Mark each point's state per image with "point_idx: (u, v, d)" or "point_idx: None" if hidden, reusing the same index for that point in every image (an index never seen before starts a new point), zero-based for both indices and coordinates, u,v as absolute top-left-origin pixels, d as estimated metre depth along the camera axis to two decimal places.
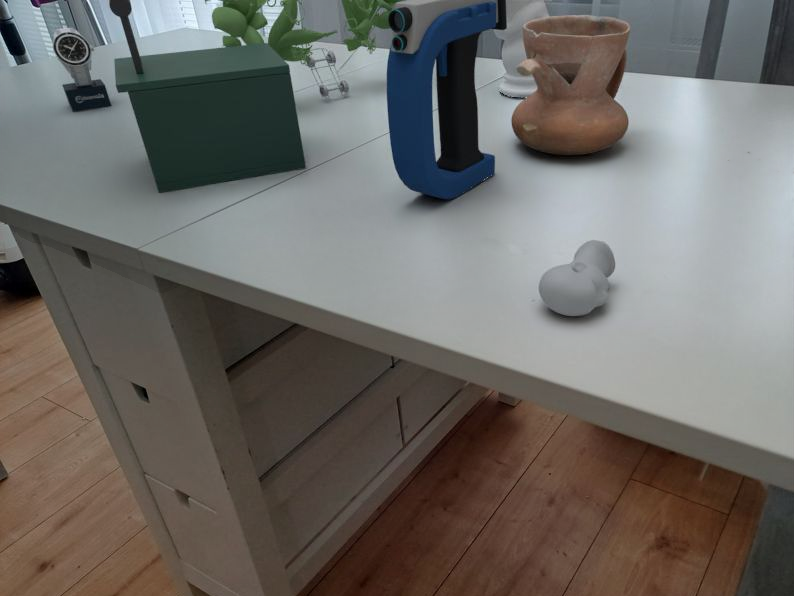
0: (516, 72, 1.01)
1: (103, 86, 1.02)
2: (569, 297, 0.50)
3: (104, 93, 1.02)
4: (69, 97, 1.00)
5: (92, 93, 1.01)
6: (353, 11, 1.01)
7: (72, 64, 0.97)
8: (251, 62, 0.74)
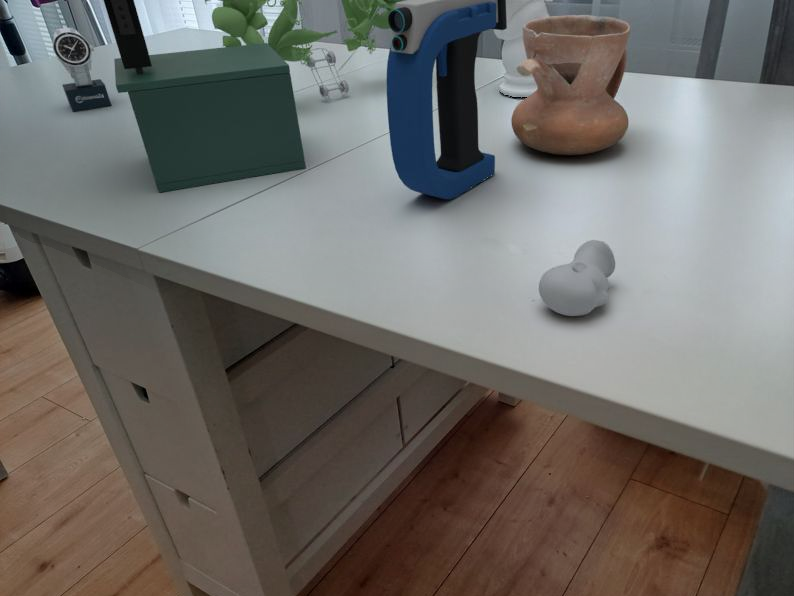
0: (516, 72, 1.01)
1: (103, 86, 1.02)
2: (569, 297, 0.50)
3: (104, 93, 1.02)
4: (69, 97, 1.00)
5: (92, 93, 1.01)
6: (353, 11, 1.01)
7: (72, 64, 0.97)
8: (251, 62, 0.74)
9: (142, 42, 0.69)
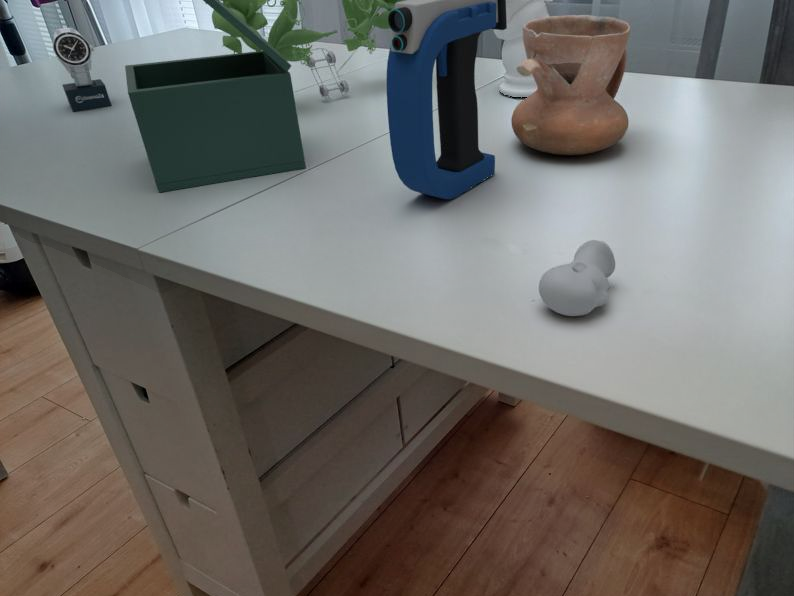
0: (516, 72, 1.01)
1: (103, 86, 1.02)
2: (569, 297, 0.50)
3: (104, 93, 1.02)
4: (69, 97, 1.00)
5: (92, 93, 1.01)
6: (353, 11, 1.01)
7: (72, 64, 0.97)
8: (259, 37, 0.73)
9: None
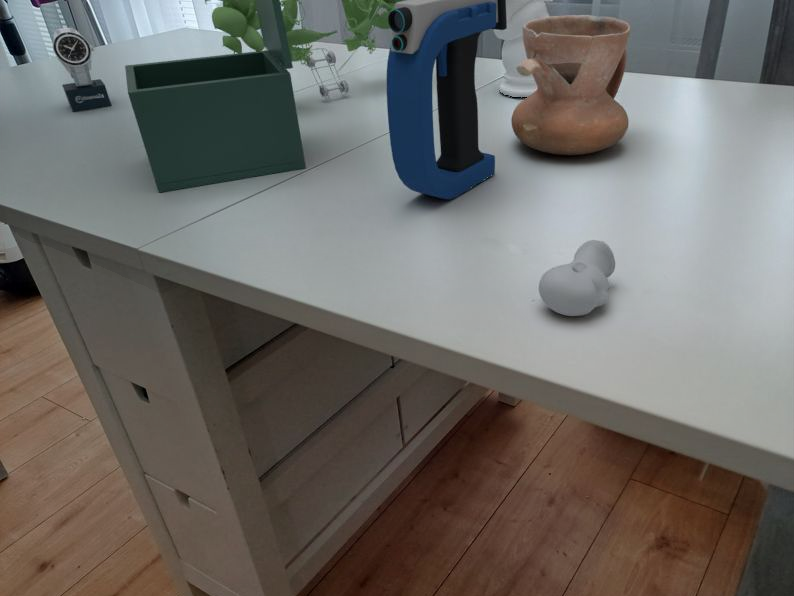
0: (516, 72, 1.01)
1: (103, 86, 1.02)
2: (569, 297, 0.50)
3: (104, 93, 1.02)
4: (69, 97, 1.00)
5: (92, 93, 1.01)
6: (353, 11, 1.01)
7: (72, 64, 0.97)
8: None
9: None
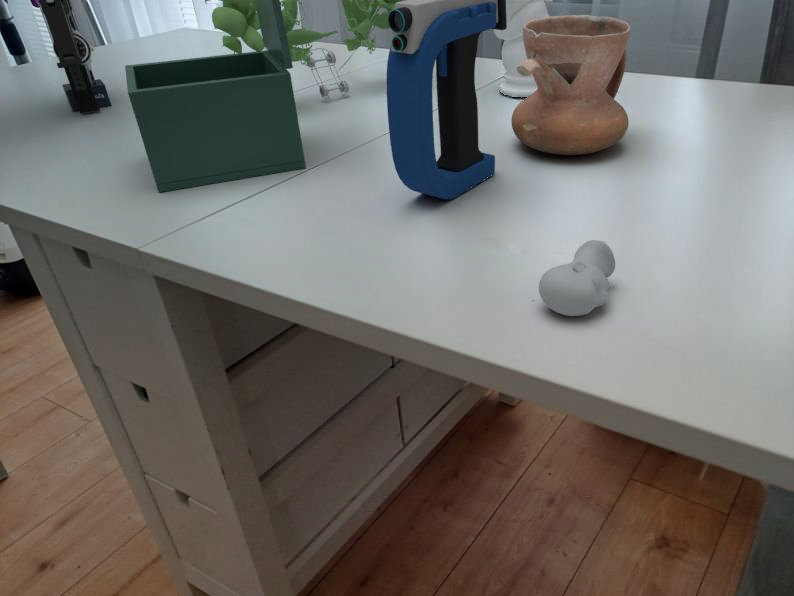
0: (516, 72, 1.01)
1: (103, 86, 1.02)
2: (569, 297, 0.50)
3: (104, 93, 1.02)
4: (69, 97, 1.00)
5: None
6: (353, 11, 1.01)
7: None
8: None
9: (92, 94, 0.99)
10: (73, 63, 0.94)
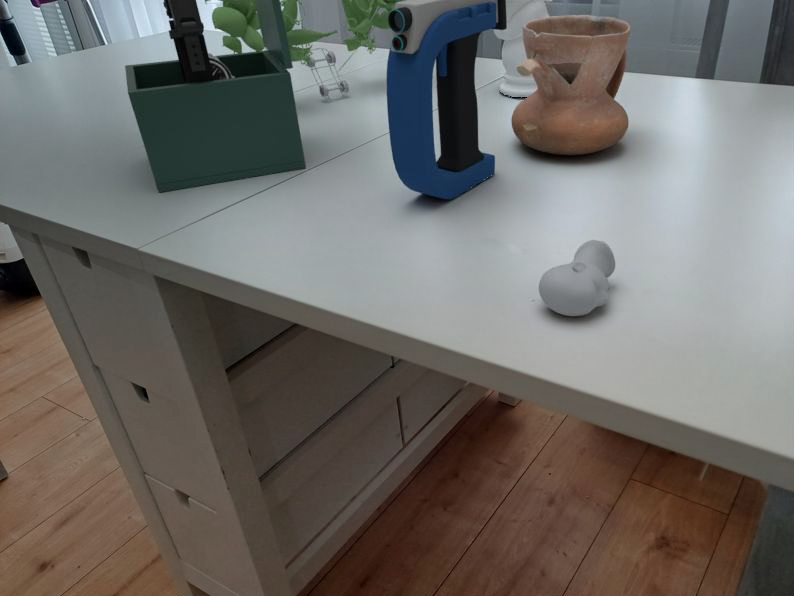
0: (516, 72, 1.01)
1: None
2: (569, 297, 0.50)
3: None
4: None
5: None
6: (353, 11, 1.01)
7: None
8: None
9: (210, 77, 0.71)
10: (193, 31, 0.66)
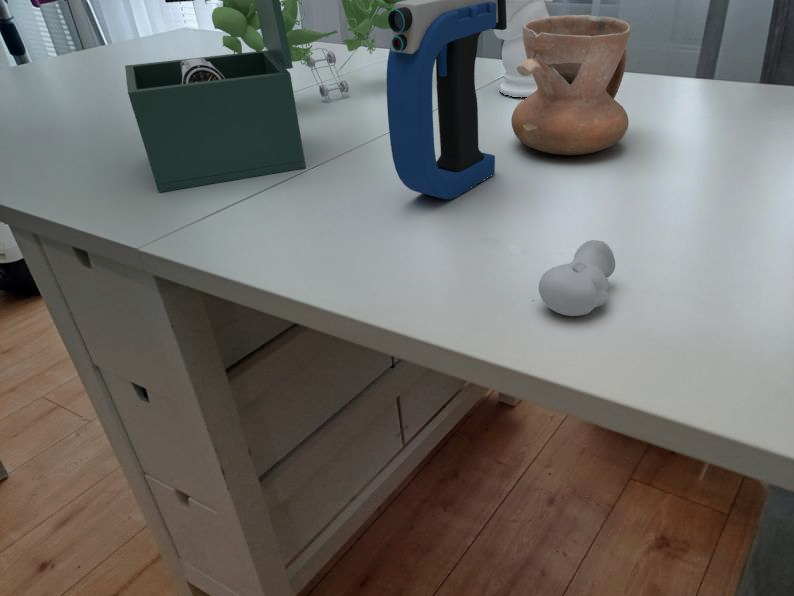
0: (516, 72, 1.01)
1: None
2: (569, 297, 0.50)
3: None
4: None
5: None
6: (353, 11, 1.01)
7: None
8: None
9: None
10: None
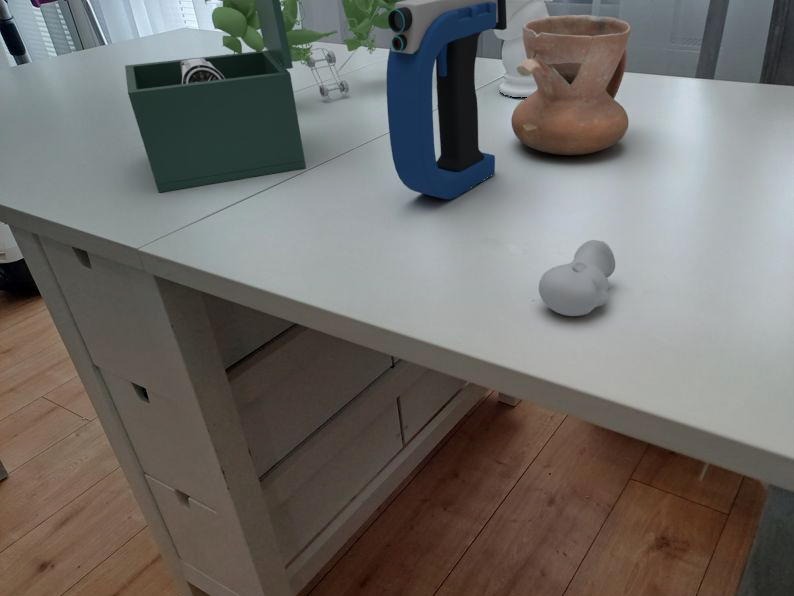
0: (516, 72, 1.01)
1: None
2: (569, 297, 0.50)
3: None
4: None
5: None
6: (353, 11, 1.01)
7: None
8: None
9: None
10: None
